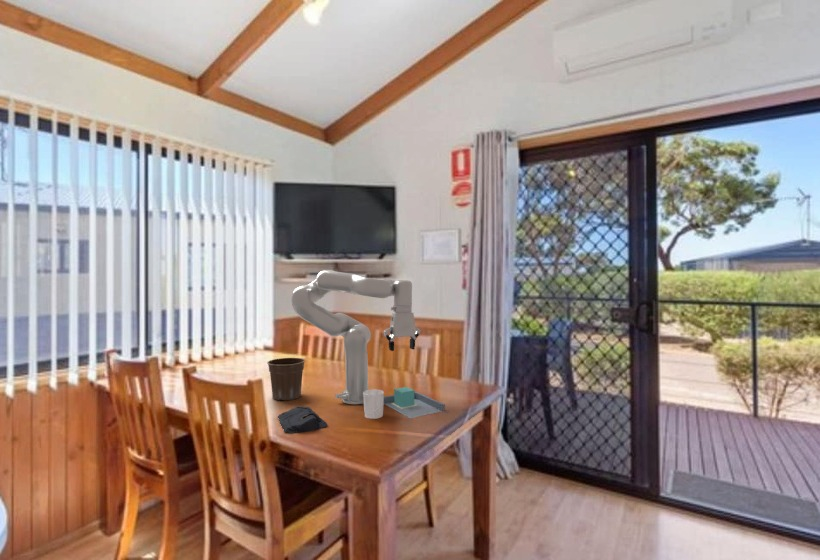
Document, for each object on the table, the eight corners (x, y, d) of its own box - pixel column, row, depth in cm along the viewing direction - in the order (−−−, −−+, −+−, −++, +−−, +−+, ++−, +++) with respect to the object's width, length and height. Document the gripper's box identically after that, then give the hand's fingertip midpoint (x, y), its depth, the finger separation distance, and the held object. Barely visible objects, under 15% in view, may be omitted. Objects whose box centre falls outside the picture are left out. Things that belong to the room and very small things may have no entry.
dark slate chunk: (314, 411, 180) (314, 399, 180) (329, 429, 160) (329, 416, 160) (275, 417, 173) (275, 405, 173) (285, 437, 153) (285, 423, 153)
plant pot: (293, 389, 210) (292, 355, 210) (313, 396, 199) (312, 360, 199) (261, 397, 198) (260, 361, 198) (280, 404, 187) (279, 366, 187)
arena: (410, 420, 166) (409, 411, 166) (382, 405, 185) (382, 397, 185) (444, 413, 175) (444, 404, 175) (415, 399, 194) (415, 391, 193)
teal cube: (401, 407, 178) (401, 392, 178) (394, 403, 184) (394, 389, 183) (414, 404, 182) (414, 390, 181) (406, 401, 187) (406, 386, 186)
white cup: (373, 413, 175) (373, 388, 175) (388, 417, 170) (388, 391, 170) (359, 418, 169) (358, 392, 169) (374, 423, 164) (373, 396, 164)
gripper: (387, 311, 182) (387, 352, 182) (424, 309, 190) (424, 349, 190) (380, 309, 188) (379, 349, 189) (416, 308, 196) (415, 346, 197)
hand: (401, 349), depth 190 cm, fingers open, 9 cm apart
